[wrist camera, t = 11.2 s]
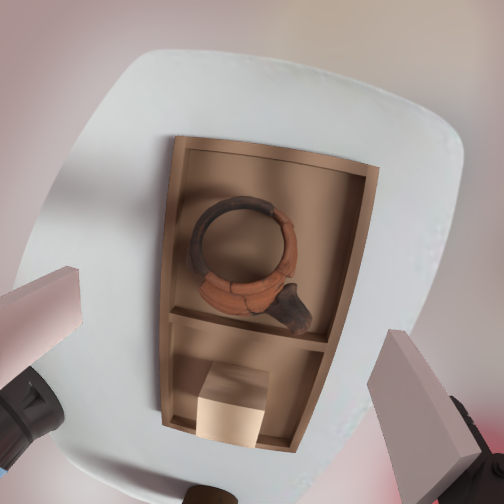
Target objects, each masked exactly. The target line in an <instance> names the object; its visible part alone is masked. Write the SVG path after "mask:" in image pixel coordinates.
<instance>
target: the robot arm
mask: <svg viewBox="0 0 504 504" xmlns="http://www.w3.org/2000/svg"><path fill="white" fill-rule="evenodd" d="M82 324H83V321H82V311H81V300H80V286H79V269H76V268H73V267H69V266H65V267H63V268H61V269H59V270H56V271H54V272H52V273H50V274H47V275H45V276H43V277H41V278H39V279H37V280H34V281H32V282H30V283H28V284H26V285H24V286H22V287H20V288H18V289H16V290H14V291H12V292H9V293H8V294H5V295H3V296H1V297H0V478H1V477H2V476H3V475H4V474H5V473H7V472H8V470H9V469H10V467H11V466H12V465H13V464H14V463H15V462H16V460H17V459H18V458H19V457H20V456H21V455H22V453H23V452H24V451H25V450H26V449H27V448H28V446H29V445H30V444H31V443H32V442H33V441H34V440H35V439H37V438H39V437H41V436H43V435H45V434H47V433H48V432H50V431H53V430H56V429H57V428H58V427H59V426H60V425H61V424H62V423H63V422H64V412H63V409H62V407H61V405H60V403H59V401H58V399H57V398H56V396H55V394H54V393H53V391H52V390H51V389H50V387H49V386H48V385H47V384H46V382H45V381H44V380H43V379H42V378H41V377H40V376H39V375H38V374H37V373H36V372H35V371H34V370H33V369H32V368H31V367H30V365H31V364H32V363H33V362H35V361H36V360H37V359H38V358H40V357H41V356H42V355H43V354H45V353H46V352H47V351H48V350H50V349H51V348H52V347H53V346H55V345H56V344H57V343H59V342H60V341H61V340H62V339H64V338H65V337H66V336H68V335H69V334H70V333H72V332H73V331H74V330H75V329H77V328H78V327H79V326H81V325H82ZM367 386H368V389H369V392H370V395H371V398H372V401H373V404H374V407H375V410H376V413H377V416H378V419H379V423H380V426H381V429H382V432H383V436H384V439H385V442H386V446H387V449H388V453H389V456H390V459H391V463H392V467H393V470H394V474H395V478H396V481H397V485H398V489H399V493H400V497H401V501H402V504H432V503H433V502H434V501H435V500H436V499H438V502H439V504H504V454H501V453H495V454H492V452H491V451H490V449H489V447H488V445H487V444H486V442H485V440H484V439H483V437H482V435H481V434H480V432H479V430H478V428H477V427H476V426H475V425H474V422H473V420H472V419H471V417H469V414H468V412H467V411H466V409H465V408H464V406H463V405H462V404H461V403H460V402H459V401H458V400H457V399H456V398H454V397H453V396H449V395H448V394H447V392H446V390H445V389H444V388H443V386H442V384H441V383H440V381H439V380H438V378H437V377H436V375H435V374H434V372H433V371H432V369H431V368H430V366H429V365H428V363H427V362H426V360H425V359H424V357H423V356H422V354H421V353H420V352H419V350H418V349H417V347H416V346H415V344H414V343H413V342H412V340H411V339H410V337H409V336H408V334H407V333H406V332H405V331H401V330H391V329H389V330H388V333H387V335H386V338H385V341H384V343H383V346H382V349H381V351H380V354H379V356H378V359H377V361H376V364H375V366H374V369H373V371H372V373H371V376H370V378H369V380H368V383H367Z"/></svg>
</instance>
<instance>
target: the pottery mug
mask: <svg viewBox="0 0 504 504" xmlns="http://www.w3.org/2000/svg"><path fill="white" fill-rule="evenodd" d="M240 209H249V210H255V211H258V212H261V213H263V214H265V215H267V216H269V217H272V218H273V219H274V220H275V221H276V222H277V223H278V224H279V225H280V227H281V228H280V230H281V233H282V236H283V240H284V251H283V255H282V258H281V260H280V262H279V264H278V265H277V267H276V268H275V270H274V271H273V272H271V273H270V274H269V275H268V276H266V277H264V278H262V279H260V280H258V281H254V282H250V283H236V282H231V281H228V280H225V279H223V278H221V277H220V276H218V275H217V274H216V273H215V272H213V271H212V270H211V269H210V268H209V267H208V265H207V263H206V262H205V259H204V256H203V251H202V241H203V236H204V234H205V232H206V230H207V228H208V227H209V226H210V224H211V223H212V222H213V221H214V220H215V219H216V218H218V217H219V216H221V215H222V214H224V213H227V212H230V211H233V210H240ZM293 228H294V225H293V222H292V221H291V220H290V219H289V218H288V217H287V216H286V215H285V214H284V213H283V212H282V211H280V210H279V209H276V208H275V207H274V206H273V204H272V203H270V202H268V201H266V200H263V199H260V198H255V197H251V196H238V197H232V198H230V199H225V200H222V201H219V202H218V203H216V204H214V205H213V206H211V207H209V208H208V209H207V210H206V211H205V212H204V213H203V214H202V215H201V216H200V218H199V219H198V221H197V222H196V224H195V227H194V228H193V233H192V237H191V240H190V246H189V248H188V255H187V257H186V266H187V270H188V271H189V272H190V273H192V272H193V273H195V274H198V275H200V276H202V277H204V278H205V281H204V282H203V283H202V285H201V286H200V287H199V288H198V292H199V293H200V295H201V297H202V298H203V299H204V300H205V301H206V302H207V303H208V304H209V305H210V306H212V307H213V308H214V309H216V310H218V311H220V312H222V313H224V314H228V315H234V316H242V317H249V316H257V315H260V314H264V313H265V314H268V315H270V316H271V317H273V318H275V319H276V320H278V321H279V322H280V323H282V324H283V325H285V326H286V327H288V329H289V330H290V331H291V333H292V334H293V335H294V336H297V335H302V334H305V333H306V332H307V331H308V330H309V328H310V327H311V322H312V315H311V313H310V312H309V310H308V309H307V308H306V306H305V305H304V303H303V302H302V301H301V300H300V298H299V297H298V295H297V284H296V283H288V284H286V285H284V281H285V279H286V277H289V278H293V276H294V274H295V269H296V263H297V257H298V249H297V238H296V234H295V231H294V229H293Z"/></svg>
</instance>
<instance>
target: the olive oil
mask: <svg viewBox="0 0 504 504" xmlns="http://www.w3.org/2000/svg"><path fill="white" fill-rule="evenodd" d="M182 504H238V500H237V498H236V497H235V496H234V495H232V494H230V493H229V492H226V491H224V490H221V489H218V488H214V487H209V486H193V487H190V488H189V489H188V490H187V492H186V495H185V497H184V500H183V502H182Z"/></svg>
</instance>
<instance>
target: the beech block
mask: <svg viewBox="0 0 504 504" xmlns="http://www.w3.org/2000/svg"><path fill="white" fill-rule="evenodd" d="M269 376H270V372H265V371H260V370H254V369H249V368H244V367H239V366H234V365H229V364H225V363H220V362H216V361H213V364H212V366H211V368H210V371H209V373H208V375H207V377H206V380H205V382H204V384H203V387H202V389H201V391H200V394H199V396H198V406H197V424H196V436H198V437H202V438H206V439H210V440H214V441H219V442H223V443H228V444H233V445H238V446H243V447H248V448H255V445H256V441H257V438H258V434H259V431H260V427H261V423H262V420H263V416H264V412H265V407H266V399H267V392H268V384H269Z"/></svg>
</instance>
